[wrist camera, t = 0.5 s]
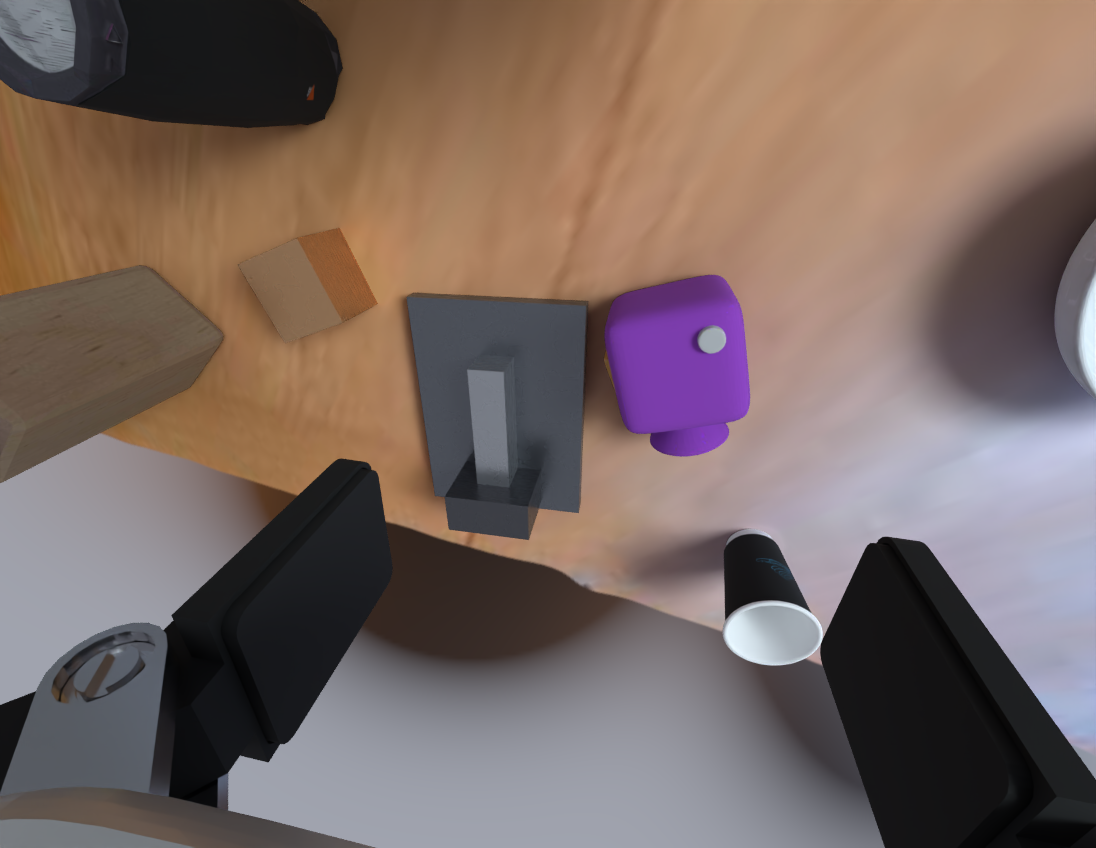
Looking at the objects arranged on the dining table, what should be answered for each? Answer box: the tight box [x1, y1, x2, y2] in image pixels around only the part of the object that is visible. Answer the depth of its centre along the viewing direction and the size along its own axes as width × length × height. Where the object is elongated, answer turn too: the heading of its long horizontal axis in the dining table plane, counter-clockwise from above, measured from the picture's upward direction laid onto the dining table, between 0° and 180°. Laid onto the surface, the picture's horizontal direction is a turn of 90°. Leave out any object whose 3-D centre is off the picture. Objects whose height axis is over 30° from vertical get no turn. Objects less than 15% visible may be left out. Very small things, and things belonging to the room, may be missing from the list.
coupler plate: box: [407, 293, 588, 540], centre depth 45 cm, size 22×16×8 cm
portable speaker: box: [0, 0, 343, 128], centre depth 29 cm, size 9×9×20 cm
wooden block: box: [0, 265, 223, 483], centre depth 43 cm, size 10×10×20 cm
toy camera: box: [604, 275, 750, 456], centre depth 38 cm, size 11×14×10 cm
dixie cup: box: [723, 529, 823, 665], centre depth 46 cm, size 8×8×11 cm
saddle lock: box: [238, 228, 378, 343], centre depth 43 cm, size 7×6×6 cm
